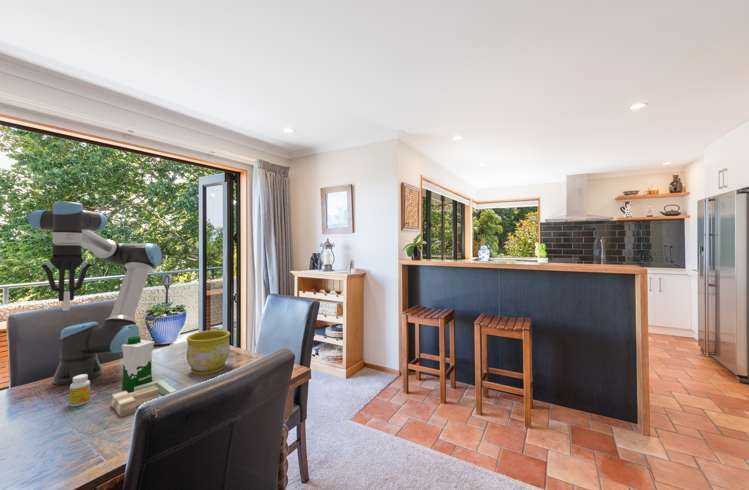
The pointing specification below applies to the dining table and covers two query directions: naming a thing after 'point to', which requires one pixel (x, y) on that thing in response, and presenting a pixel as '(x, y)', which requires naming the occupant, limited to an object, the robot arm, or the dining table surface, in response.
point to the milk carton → (137, 363)
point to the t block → (132, 400)
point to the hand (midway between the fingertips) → (65, 309)
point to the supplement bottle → (79, 390)
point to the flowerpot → (208, 351)
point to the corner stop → (160, 384)
